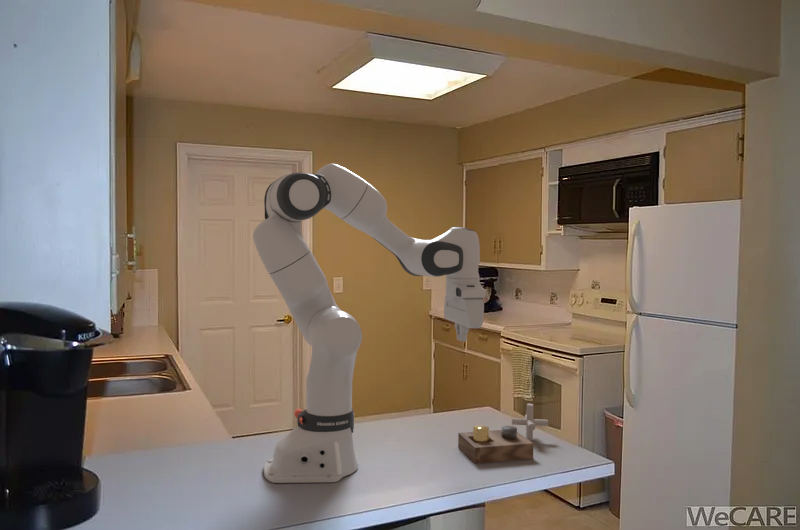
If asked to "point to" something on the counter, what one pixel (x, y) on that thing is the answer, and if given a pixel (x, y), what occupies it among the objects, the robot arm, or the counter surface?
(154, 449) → the counter surface
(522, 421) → the pipe connector
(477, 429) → the tan cylinder
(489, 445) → the jig
